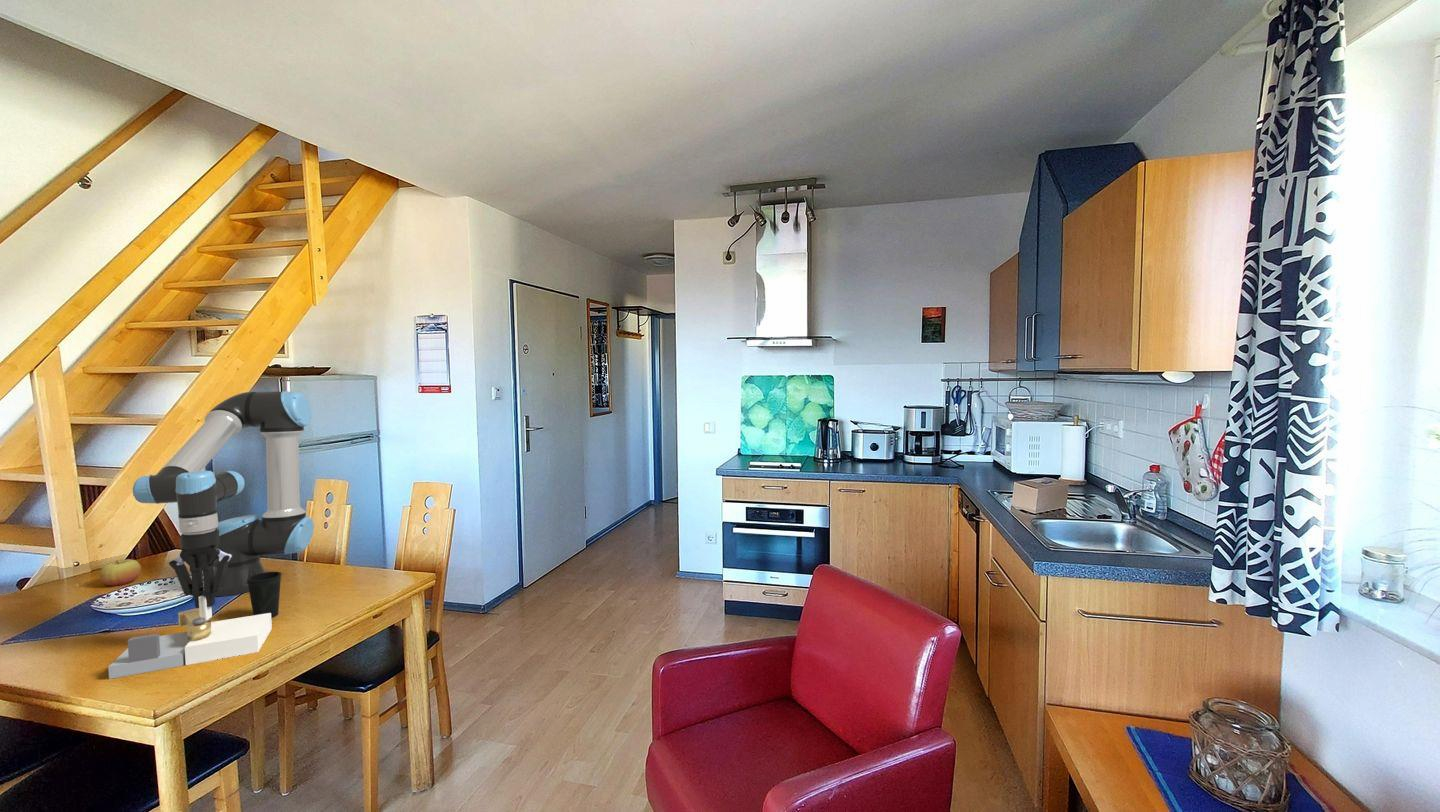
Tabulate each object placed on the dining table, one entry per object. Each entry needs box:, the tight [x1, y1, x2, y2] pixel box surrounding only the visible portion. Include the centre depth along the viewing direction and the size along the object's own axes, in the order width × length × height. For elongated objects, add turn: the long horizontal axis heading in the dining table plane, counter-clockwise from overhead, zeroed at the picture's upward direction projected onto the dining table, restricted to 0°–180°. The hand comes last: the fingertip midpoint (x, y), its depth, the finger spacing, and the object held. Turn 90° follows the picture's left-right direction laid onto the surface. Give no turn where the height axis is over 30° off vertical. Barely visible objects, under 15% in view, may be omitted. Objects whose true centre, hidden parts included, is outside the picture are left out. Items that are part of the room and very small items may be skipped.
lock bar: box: [177, 607, 212, 640], centre depth 147 cm, size 4×15×3 cm, turn 52°
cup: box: [247, 571, 282, 619], centre depth 166 cm, size 8×8×12 cm
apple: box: [98, 558, 142, 587], centre depth 191 cm, size 10×10×8 cm
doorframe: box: [107, 613, 273, 680], centre depth 145 cm, size 15×28×9 cm, turn 118°
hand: (206, 618), depth 150 cm, fingers closed
